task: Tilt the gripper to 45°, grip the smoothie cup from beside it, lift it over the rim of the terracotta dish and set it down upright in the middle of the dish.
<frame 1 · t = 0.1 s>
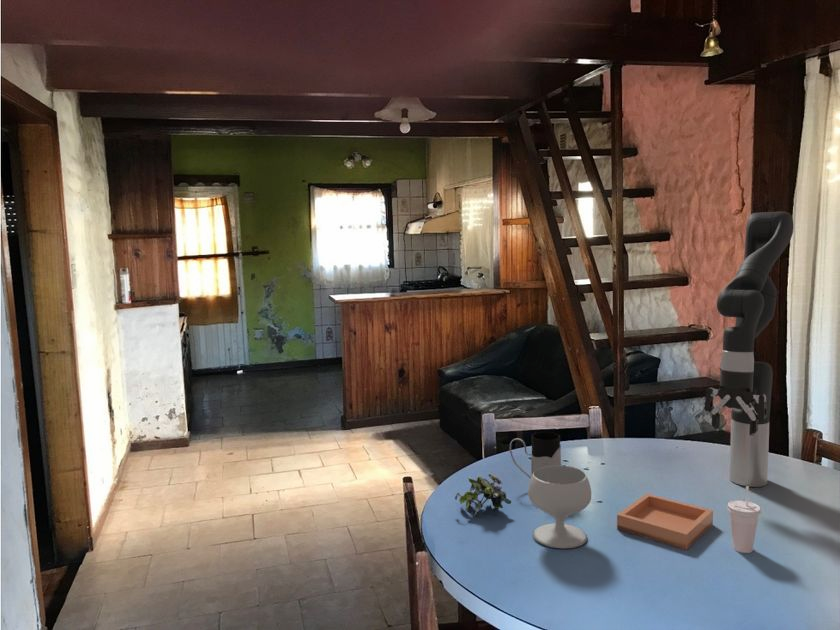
hand: (733, 431, 165), 17 cm above the table, tool pointing down, fingers open, 8 cm apart
leafy green plant: (483, 512, 163), on the table
smoothie: (742, 549, 140), on the table
dish: (665, 526, 151), on the table
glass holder: (536, 489, 176), on the table
chalice: (559, 538, 148), on the table
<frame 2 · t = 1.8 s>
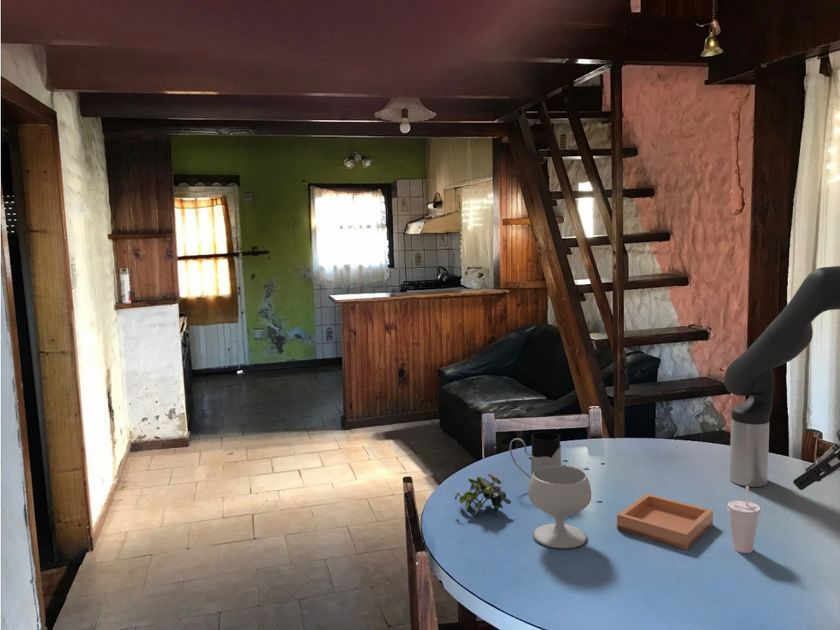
hand: (803, 479, 130), 18 cm above the table, tool tilted 45°, fingers open, 8 cm apart
nothing on the table moved.
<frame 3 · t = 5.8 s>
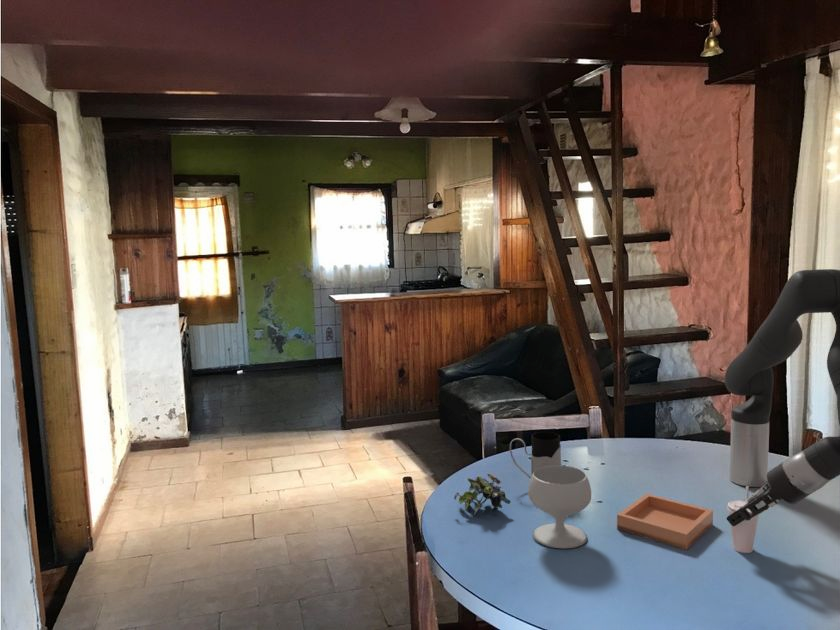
hand: (735, 516, 140), 7 cm above the table, tool tilted 45°, fingers closed on smoothie, 6 cm apart
smoothie: (742, 549, 140), on the table, touching gripper
everything else where it was.
when the fingers open (9 cm above the table, at t = 11.4 s): smoothie stays where it is, resting on dish.
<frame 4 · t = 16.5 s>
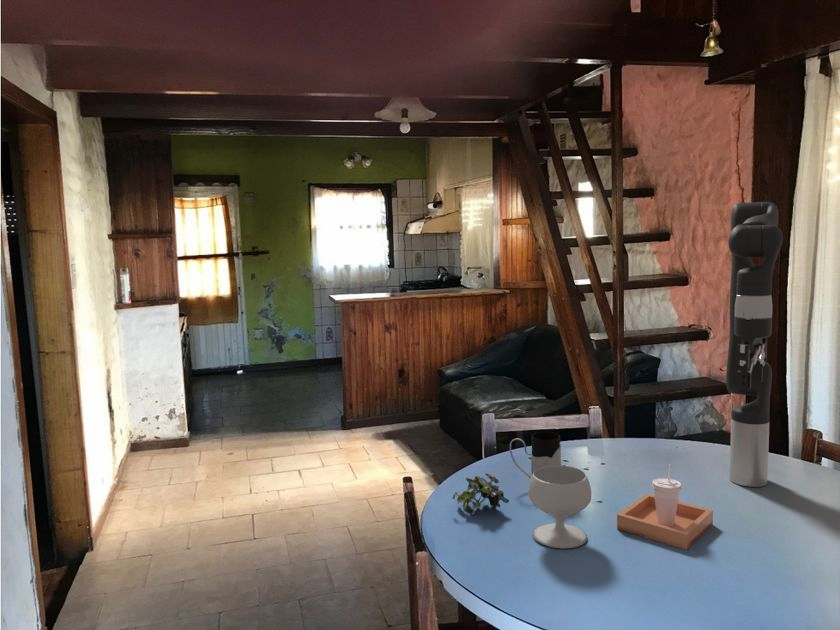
hand: (751, 385, 147), 33 cm above the table, tool pointing down, fingers open, 8 cm apart
smoothie: (665, 523, 151), point 1 cm above the table, touching dish
everything else where it was.
at the end: smoothie inside the target area on the dish (0.2 cm from its centre), point 0.8 cm above the dish's base; smoothie tilted 0°; the gripper is holding nothing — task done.
